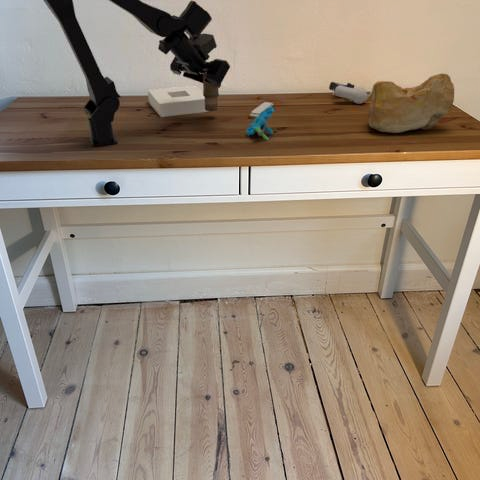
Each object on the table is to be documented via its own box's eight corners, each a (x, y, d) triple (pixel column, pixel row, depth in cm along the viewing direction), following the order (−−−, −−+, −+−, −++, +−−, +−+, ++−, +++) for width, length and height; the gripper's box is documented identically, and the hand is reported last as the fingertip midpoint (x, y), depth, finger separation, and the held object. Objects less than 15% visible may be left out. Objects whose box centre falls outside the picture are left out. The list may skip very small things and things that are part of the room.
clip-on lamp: (375, 104, 163) (326, 92, 160) (382, 85, 160) (332, 73, 157) (386, 111, 152) (333, 99, 150) (393, 92, 149) (340, 78, 147)
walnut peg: (221, 110, 137) (220, 64, 130) (206, 112, 136) (205, 65, 129) (216, 106, 141) (215, 61, 134) (201, 107, 140) (199, 62, 132)
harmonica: (265, 106, 151) (266, 100, 150) (274, 107, 150) (274, 101, 149) (247, 119, 140) (247, 113, 139) (257, 121, 139) (257, 114, 138)
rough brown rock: (426, 117, 144) (434, 66, 137) (454, 132, 129) (464, 75, 122) (353, 122, 142) (357, 71, 135) (373, 137, 127) (379, 80, 120)
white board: (211, 111, 145) (210, 98, 143) (160, 117, 140) (159, 103, 138) (195, 97, 158) (195, 85, 155) (148, 102, 152) (147, 90, 150)
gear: (247, 121, 133) (273, 99, 127) (262, 135, 135) (287, 114, 129) (240, 139, 124) (266, 117, 119) (255, 154, 127) (282, 133, 121)
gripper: (225, 28, 118) (251, 66, 131) (174, 20, 128) (204, 56, 141) (204, 65, 117) (233, 100, 130) (155, 55, 127) (186, 88, 141)
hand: (214, 84), depth 136 cm, fingers closed on walnut peg, 4 cm apart
